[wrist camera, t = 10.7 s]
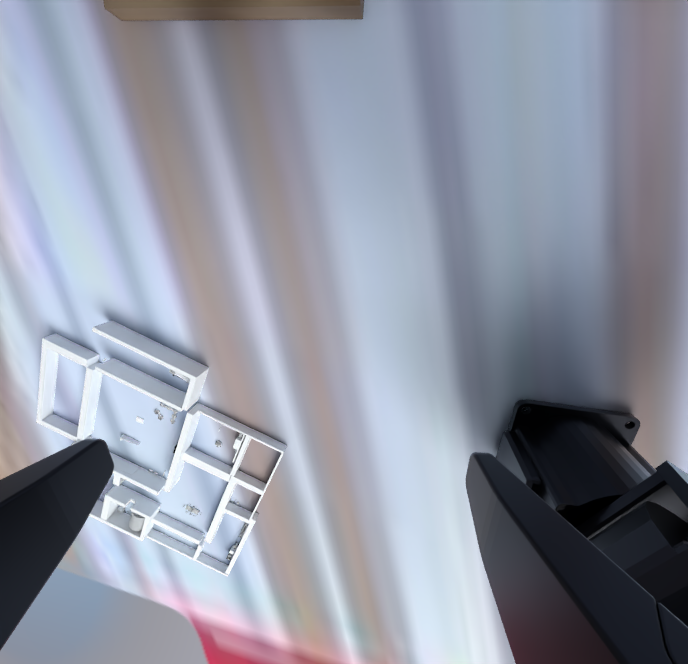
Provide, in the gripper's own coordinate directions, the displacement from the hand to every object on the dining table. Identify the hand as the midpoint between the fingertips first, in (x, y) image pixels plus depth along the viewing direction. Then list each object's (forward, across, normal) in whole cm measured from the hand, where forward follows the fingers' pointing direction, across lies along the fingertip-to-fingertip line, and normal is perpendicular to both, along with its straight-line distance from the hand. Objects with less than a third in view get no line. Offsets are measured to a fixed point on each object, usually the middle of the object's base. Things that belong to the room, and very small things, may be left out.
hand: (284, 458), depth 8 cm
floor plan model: (+14, +17, +12) cm, 25 cm away
